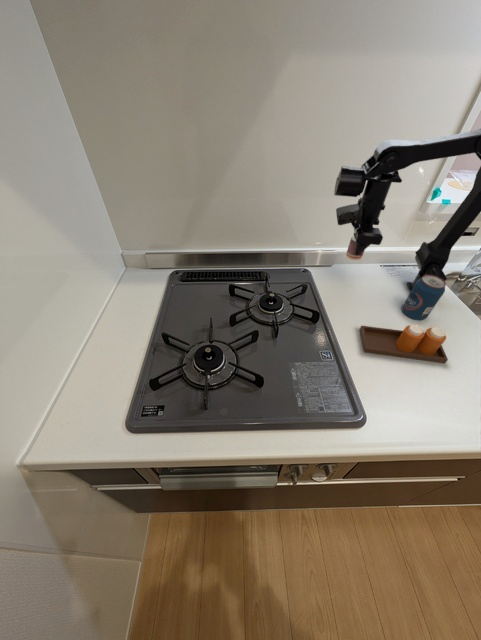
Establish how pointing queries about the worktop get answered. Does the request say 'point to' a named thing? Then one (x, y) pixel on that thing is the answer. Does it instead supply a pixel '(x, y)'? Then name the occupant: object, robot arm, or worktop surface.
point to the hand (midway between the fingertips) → (355, 250)
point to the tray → (393, 345)
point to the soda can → (423, 297)
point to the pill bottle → (353, 249)
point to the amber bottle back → (431, 341)
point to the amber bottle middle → (410, 338)
